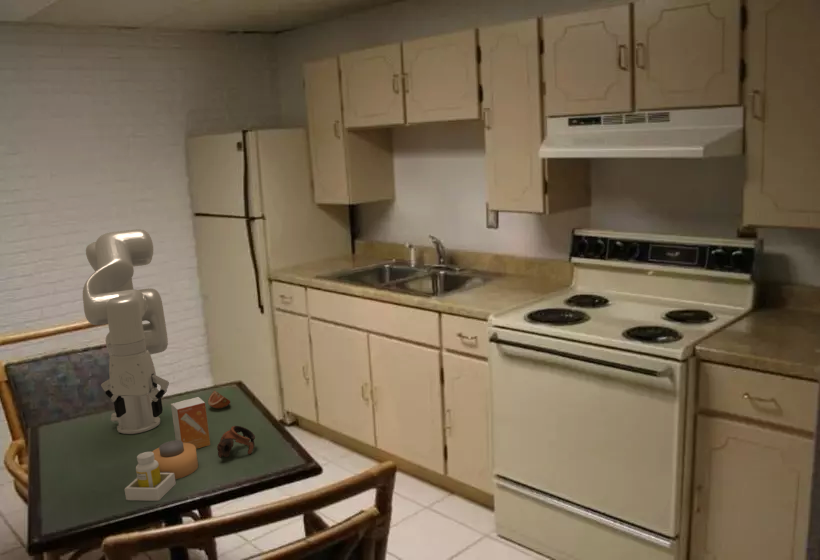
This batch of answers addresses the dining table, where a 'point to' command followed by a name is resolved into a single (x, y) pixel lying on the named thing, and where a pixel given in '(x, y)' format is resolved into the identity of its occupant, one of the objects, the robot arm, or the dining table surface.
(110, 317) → the robot arm
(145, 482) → the supplement bottle
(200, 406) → the small box
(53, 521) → the dining table surface
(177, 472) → the disc and frame
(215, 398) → the fruit slice
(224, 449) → the brown curved piece
